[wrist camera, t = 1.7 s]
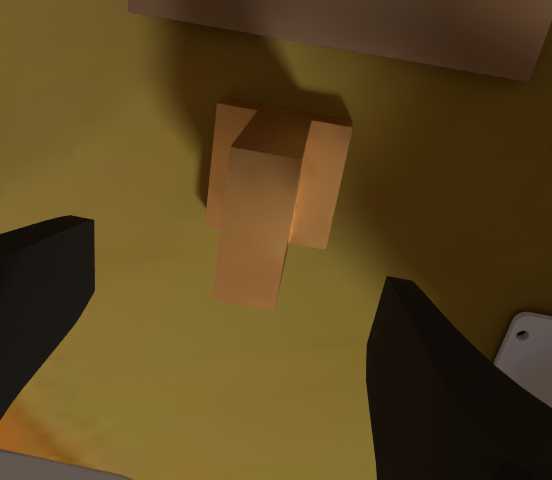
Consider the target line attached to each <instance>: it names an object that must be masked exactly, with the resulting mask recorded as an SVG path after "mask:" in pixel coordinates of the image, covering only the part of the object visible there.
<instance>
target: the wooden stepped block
mask: <svg viewBox="0 0 552 480" xmlns="http://www.w3.org/2000/svg"><path fill="white" fill-rule="evenodd" d="M352 130H353V122H352V121H350V120H344V119H339V118H333V117H328V116H322V115H317V114H311V113H305V112H300V111H294V110H289V109H283V108H278V107H272V106H267V105H261V104H256V103H250V102H245V101H239V100H233V99H228V98H223V99H221V100H220V101H219V102H218V103H217V108H216V119H215V129H214V139H213V149H212V159H211V169H210V179H209V189H208V199H207V209H206V219H205V227H210V228H215V229H220V239H219V248H218V257H217V265H216V274H215V283H214V291H213V299H215V300H220V301H225V302H230V303H235V304H240V305H245V306H251V307H256V308H261V309H266V310H271V311H275V307H276V302H277V297H278V293H279V288H280V283H281V279H282V274H283V270H284V265H285V260H286V256H287V251H288V246H289V243H294V244H299V245H304V246H309V247H315V248H320V249H325V250H326V247H327V242H328V238H329V233H330V229H331V224H332V220H333V215H334V211H335V206H336V202H337V197H338V193H339V188H340V184H341V179H342V175H343V170H344V166H345V161H346V157H347V152H348V148H349V143H350V139H351V134H352Z"/></svg>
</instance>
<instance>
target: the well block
mask: <svg viewBox="0 0 552 480" xmlns="http://www.w3.org/2000/svg"><path fill="white" fill-rule="evenodd" d="M128 12H131V13H136V14H142V15H148V16H154V17H159V18H165V19H171V20H176V21H182V22H188V23H194V24H199V25H205V26H211V27H216V28H222V29H228V30H233V31H239V32H245V33H251V34H256V35H262V36H268V37H273V38H279V39H285V40H291V41H296V42H302V43H308V44H313V45H319V46H325V47H331V48H336V49H342V50H348V51H353V52H359V53H365V54H371V55H376V56H382V57H388V58H393V59H399V60H405V61H411V62H416V63H422V64H428V65H433V66H439V67H445V68H450V69H456V70H462V71H468V72H473V73H479V74H485V75H490V76H496V77H502V78H508V79H513V80H519V81H525V82H530V80H531V77H532V74H533V71H534V69H535V66H536V63H537V60H538V58H539V55H540V52H541V50H542V47H543V44H544V41H545V39H546V36H547V33H548V30H549V28H550V25H551V22H552V0H128Z"/></svg>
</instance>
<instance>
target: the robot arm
mask: <svg viewBox="0 0 552 480" xmlns="http://www.w3.org/2000/svg"><path fill="white" fill-rule="evenodd" d="M94 291H95V255H94V220H92V219H87V218H82V217H76V216H71V215H69V216H63V217H58V218H54V219H50V220H46V221H43V222H39V223H36V224H33V225H29V226H26V227H23V228H19V229H16V230H13V231H9V232H6V233H3V234H0V420H1V418H2V417H3V415H4V414H5V412H6V411H7V409H8V408H9V406H10V405H11V403H12V402H13V401H14V399H15V398H16V397H17V395H18V394H19V393H20V391H21V390H22V389H23V388H24V386H25V385H26V384H27V383H28V381H29V380H30V379H31V378H32V377H33V375H34V374H35V373H36V372H37V370H38V369H39V368H40V367H41V366H42V364H43V363H44V362H45V361H46V359H47V358H48V357H49V356H50V355H51V353H52V352H53V351H54V350H55V349H56V347H57V346H58V345H59V344H60V342H61V341H62V340H63V339H64V337H65V336H66V335H67V334H68V332H69V331H70V330H71V329H72V327H73V326H74V325H75V323H76V322H77V321H78V319H79V317H80V316H81V314H82V312H83V311H84V309H85V307H86V306H87V304H88V302H89V300H90V298H91V297H92V295H93V293H94ZM520 331H526V332H525V333H524V334H522V335H516V334H517V333H518V332H520ZM366 384H367V393H368V402H369V410H370V418H371V427H372V435H373V443H374V451H375V459H376V471H377V480H552V316H547V315H542V314H537V313H532V312H521V313H519V314H517V315H516V316H515V317H514V318H513V320H512V322H511V324H510V327H509V329H508V331H507V333H506V336H505V338H504V340H503V342H502V345H501V347H500V349H499V352H498V354H497V356H496V358H495V361H494V363H492V362H491V361H489V360H488V359H487V358H486V357H485V356H484V355H483V354H482V353H481V352H480V351H479V350H477V349H476V348H475V347H474V346H473V345H472V344H471V343H470V342H469V341H468V340H467V339H466V338H465V337H464V336H463V335H462V334H461V333H460V332H459V331H458V330H457V329H456V328H455V327H454V326H453V325H452V324H451V323H450V321H449V320H448V319H447V318H446V317H445V316H444V315H443V314H442V313H441V312H440V310H439V309H438V308H437V307H436V306H435V305H434V304H433V303H432V301H431V300H430V299H429V298H428V297H427V296H426V295H425V294H424V292H423V291H422V290H421V289H420V288H419V287H418V286H417V285H416V284H415V283H414V282H413V281H410V280H405V279H400V278H395V277H390V276H387V277H386V280H385V284H384V287H383V291H382V294H381V298H380V301H379V304H378V308H377V311H376V315H375V318H374V322H373V325H372V328H371V332H370V335H369V339H368V342H367V356H366ZM0 480H133V479H131V478H128V477H126V476H123V475H121V474H116V473H111V472H106V471H102V470H97V469H92V468H88V467H83V466H78V465H73V464H69V463H64V462H59V461H54V460H50V459H45V458H40V457H35V456H31V455H26V454H21V453H16V452H12V451H7V450H2V449H0Z"/></svg>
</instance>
